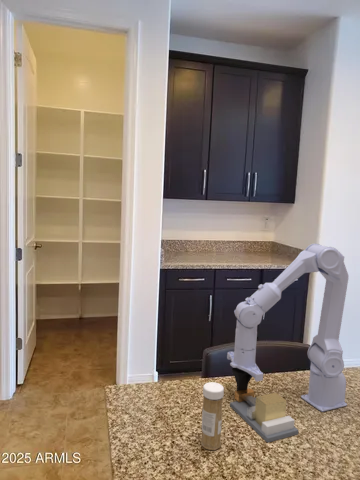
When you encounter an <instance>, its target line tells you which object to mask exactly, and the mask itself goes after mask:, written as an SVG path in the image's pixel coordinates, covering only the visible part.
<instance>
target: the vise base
mask: <svg viewBox="0 0 360 480" xmlns="http://www.w3.org/2000/svg"><path fill="white" fill-rule="evenodd" d="M256 397H257V396H254V398H255V399H256ZM229 407H230V408H231V409H232V410H233V411H235V413H236V414H237V415H238V416H239V417H241V418H242V420H244V422H245V423H246V424H248V425H249V426H250V427H251V428H252V430H254V431H255V433H257V435H259V436H260V437H261V438H262V439H263V440H264V441H265V442H266V443H272V442H275V441H279V440H282V439H286V438H289V437H293V436H296V435H299V429H298V428H297V427H296V426H295V419H294V418H292V417H291V415H285V417H281V418H277V419H273V420H269V421H265V422H262V427H261V426H260V425H259V424H258V423H257V422H256V421H255V420H254V419H252V420H251V419H250V418H249V417H248V416H247V408H248V407H252V406H251V405H249V404H248V403H247V402H246V401H241V402H238V401H237V400H235V401H231V402H229Z"/></svg>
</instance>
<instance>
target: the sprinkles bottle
mask: <svg viewBox="0 0 360 480" xmlns="http://www.w3.org/2000/svg"><path fill="white" fill-rule="evenodd" d="M202 387H203V388H202V396H203V400H202V401H203V402H202V413H201V438H200V445H201V446H202V447H203V448H204V449H206V450H209V451H216V450H218V449H219V448H220V447H221V445H222V441H221V440H222V439H221V438H222V435H221V434H222V425H223V424H222V423H223V422H222V421H223V417H222V416H223V398H224V395H225V387H224V386H223V384H221V383H218V382H215V381H213V382H211V381H210V382H209V381H208V382H205V384H203V386H202Z"/></svg>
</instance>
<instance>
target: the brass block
mask: <svg viewBox="0 0 360 480" xmlns="http://www.w3.org/2000/svg"><path fill="white" fill-rule="evenodd" d="M255 397H256V404H255V419H254V420H255V421H256V422H257V423H258V424H259V425H260V426H261V427H262V422H265V421H269V420H273V419H277V418H281V417H285V416H286V411H287V409H286V408H287V400H286V398H283V396H281V395H280V394H279V393H277V392H272V393H267V394H263V395H258V396H255Z"/></svg>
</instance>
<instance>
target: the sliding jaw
mask: <svg viewBox="0 0 360 480" xmlns="http://www.w3.org/2000/svg"><path fill="white" fill-rule="evenodd" d="M255 392H256V391H254V389H252V388H247V389H246V390H241V391H237V390H235V391H234V399H235V401H238V402H241V401H246V402H247V403H248V404H249V405H251V406H252V407H248V408H247V416H248V417H249V418H250V419H251V420H252V419H255V404H256V399H255V398H254V397H255Z"/></svg>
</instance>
